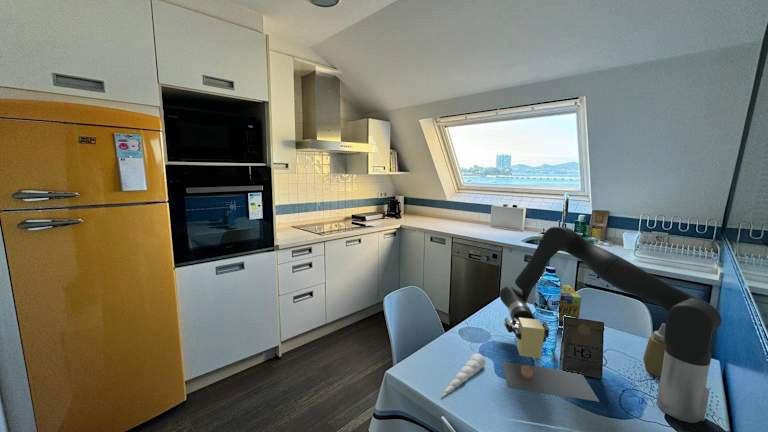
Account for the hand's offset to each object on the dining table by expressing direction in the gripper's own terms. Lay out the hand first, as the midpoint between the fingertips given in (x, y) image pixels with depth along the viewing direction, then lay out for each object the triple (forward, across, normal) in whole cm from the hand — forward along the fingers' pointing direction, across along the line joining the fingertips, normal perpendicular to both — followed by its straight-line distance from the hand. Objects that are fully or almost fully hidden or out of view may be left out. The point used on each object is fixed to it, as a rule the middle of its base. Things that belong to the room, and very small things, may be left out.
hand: (531, 338), depth 100 cm
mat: (-2, +6, +15) cm, 17 cm away
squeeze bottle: (-16, +45, +16) cm, 50 cm away
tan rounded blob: (-2, 0, +15) cm, 15 cm away
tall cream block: (-2, 0, +6) cm, 6 cm away
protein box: (-49, +24, +16) cm, 57 cm away
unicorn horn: (+4, -20, +16) cm, 26 cm away
